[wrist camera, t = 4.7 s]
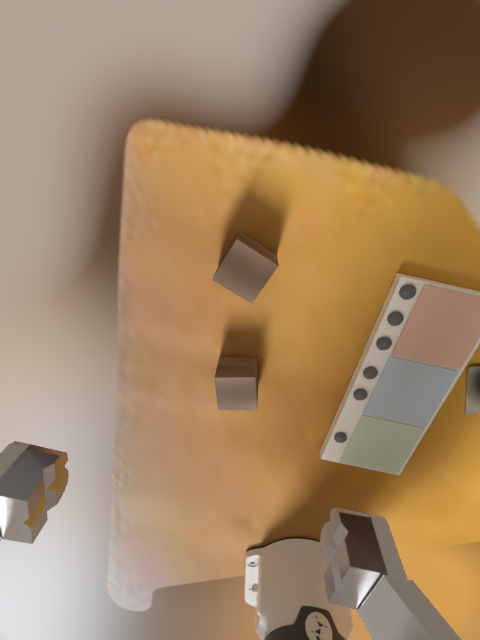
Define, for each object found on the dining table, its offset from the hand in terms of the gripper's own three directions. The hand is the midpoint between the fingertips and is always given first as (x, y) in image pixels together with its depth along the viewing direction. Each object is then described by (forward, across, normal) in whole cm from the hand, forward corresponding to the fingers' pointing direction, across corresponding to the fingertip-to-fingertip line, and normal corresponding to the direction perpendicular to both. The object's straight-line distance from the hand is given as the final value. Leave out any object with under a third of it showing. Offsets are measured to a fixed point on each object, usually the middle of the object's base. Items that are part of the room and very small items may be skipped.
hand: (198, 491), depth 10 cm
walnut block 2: (+27, +2, -14) cm, 31 cm away
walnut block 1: (+27, 0, 0) cm, 27 cm away
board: (+27, +21, -11) cm, 36 cm away
